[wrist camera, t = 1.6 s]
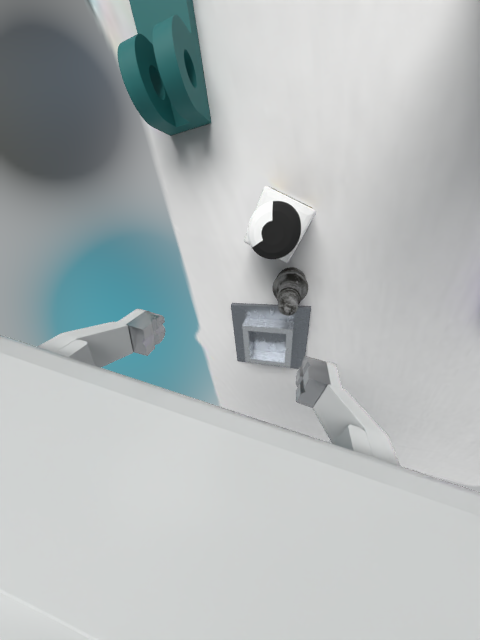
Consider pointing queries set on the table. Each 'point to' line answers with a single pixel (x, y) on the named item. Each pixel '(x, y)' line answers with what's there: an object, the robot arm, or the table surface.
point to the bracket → (165, 66)
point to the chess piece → (290, 290)
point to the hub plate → (270, 334)
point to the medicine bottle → (278, 225)
